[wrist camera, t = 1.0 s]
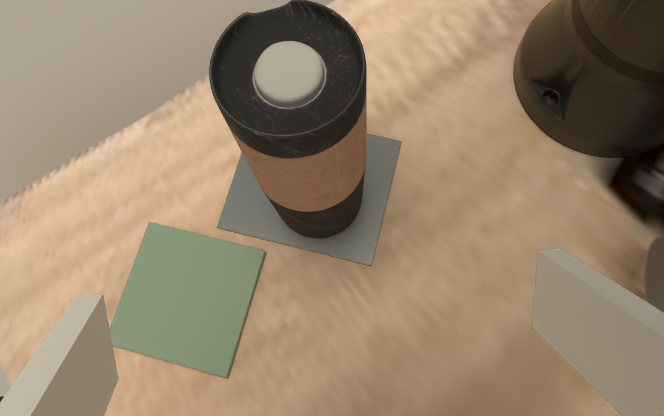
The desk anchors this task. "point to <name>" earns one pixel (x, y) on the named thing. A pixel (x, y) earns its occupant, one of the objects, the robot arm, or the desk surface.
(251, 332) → the desk surface
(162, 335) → the sage green mat
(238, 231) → the card
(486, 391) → the desk surface
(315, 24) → the travel mug
